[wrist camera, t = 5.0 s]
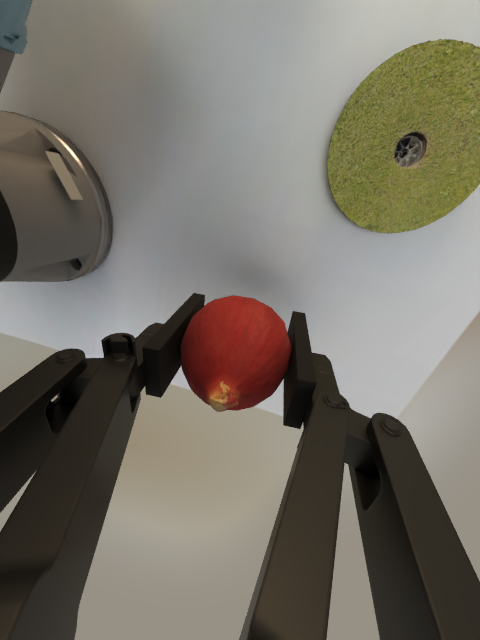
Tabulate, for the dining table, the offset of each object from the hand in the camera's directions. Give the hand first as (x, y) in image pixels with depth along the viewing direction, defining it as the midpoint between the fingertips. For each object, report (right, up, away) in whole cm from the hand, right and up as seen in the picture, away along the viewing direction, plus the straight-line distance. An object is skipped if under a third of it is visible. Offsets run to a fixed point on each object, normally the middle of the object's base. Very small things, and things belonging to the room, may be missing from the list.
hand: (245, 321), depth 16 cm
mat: (+12, +13, +3) cm, 18 cm away
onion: (0, 0, 0) cm, 1 cm away
